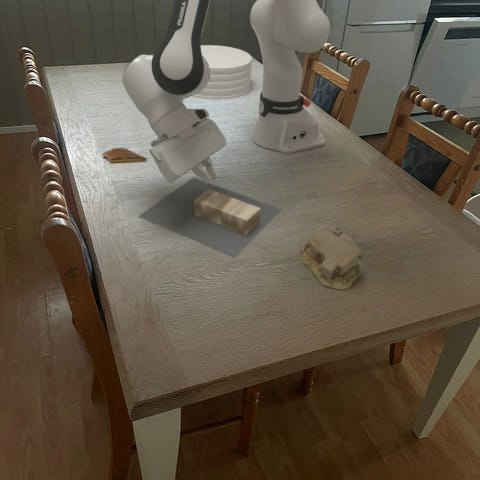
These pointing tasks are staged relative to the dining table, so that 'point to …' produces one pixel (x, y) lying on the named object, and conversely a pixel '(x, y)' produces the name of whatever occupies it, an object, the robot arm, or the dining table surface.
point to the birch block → (227, 211)
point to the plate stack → (226, 72)
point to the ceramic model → (332, 257)
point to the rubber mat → (199, 229)
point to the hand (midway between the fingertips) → (212, 180)
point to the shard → (123, 156)
